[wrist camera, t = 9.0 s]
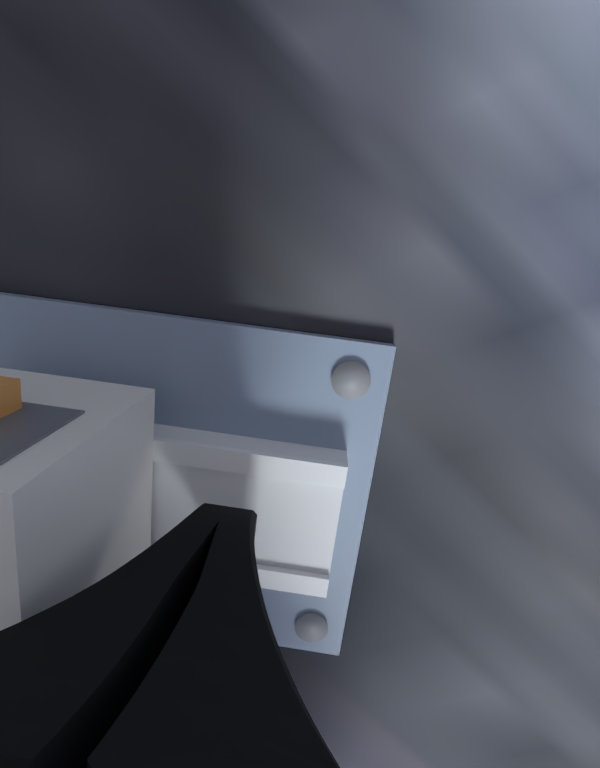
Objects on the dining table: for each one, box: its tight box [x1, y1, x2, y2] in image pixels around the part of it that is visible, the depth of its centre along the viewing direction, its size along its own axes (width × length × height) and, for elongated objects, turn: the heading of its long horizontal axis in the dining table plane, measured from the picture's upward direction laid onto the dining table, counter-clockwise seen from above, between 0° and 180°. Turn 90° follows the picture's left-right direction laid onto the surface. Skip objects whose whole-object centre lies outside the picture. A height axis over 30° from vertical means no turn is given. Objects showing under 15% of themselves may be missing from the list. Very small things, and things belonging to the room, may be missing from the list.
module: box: [0, 368, 155, 631], centre depth 9 cm, size 7×4×5 cm
